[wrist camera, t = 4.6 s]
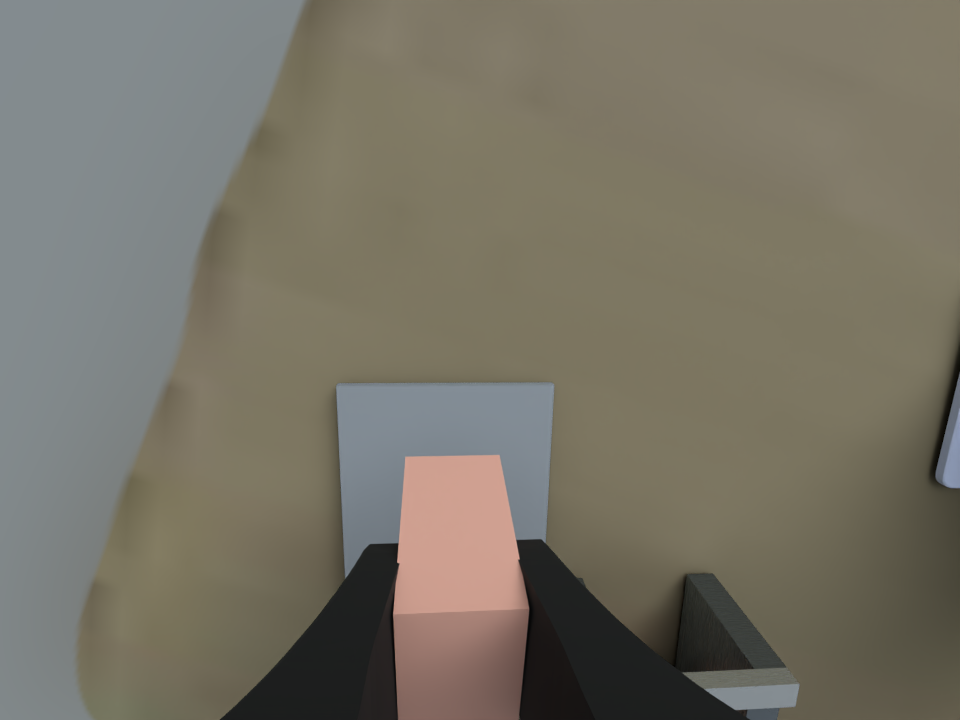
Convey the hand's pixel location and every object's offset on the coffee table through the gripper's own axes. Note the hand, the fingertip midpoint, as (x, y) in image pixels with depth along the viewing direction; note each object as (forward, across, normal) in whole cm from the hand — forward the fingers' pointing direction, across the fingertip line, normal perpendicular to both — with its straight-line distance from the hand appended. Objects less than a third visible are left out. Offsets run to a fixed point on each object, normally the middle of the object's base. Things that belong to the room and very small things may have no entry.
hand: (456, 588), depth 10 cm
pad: (+8, 0, +2) cm, 9 cm away
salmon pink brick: (+3, 0, +2) cm, 3 cm away
